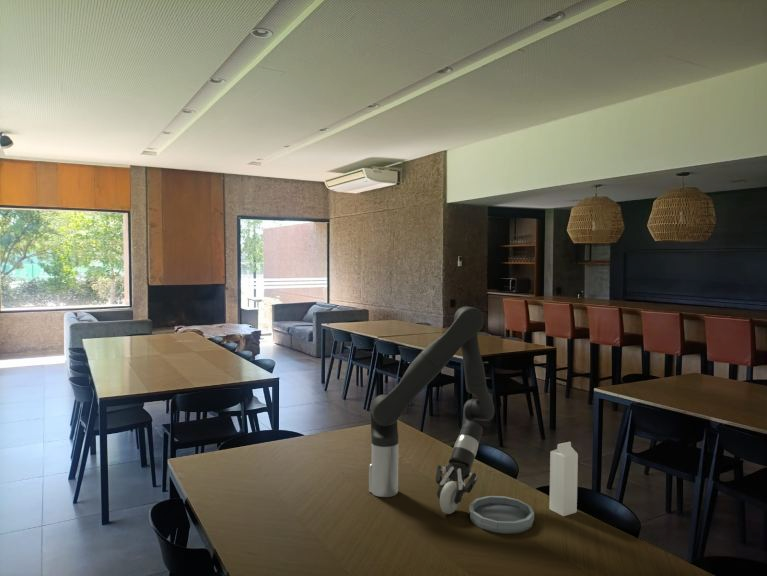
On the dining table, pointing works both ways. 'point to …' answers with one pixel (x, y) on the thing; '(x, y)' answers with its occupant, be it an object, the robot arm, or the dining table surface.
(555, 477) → the milk
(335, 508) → the dining table surface
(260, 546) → the dining table surface
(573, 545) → the dining table surface
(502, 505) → the bowl
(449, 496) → the donut
